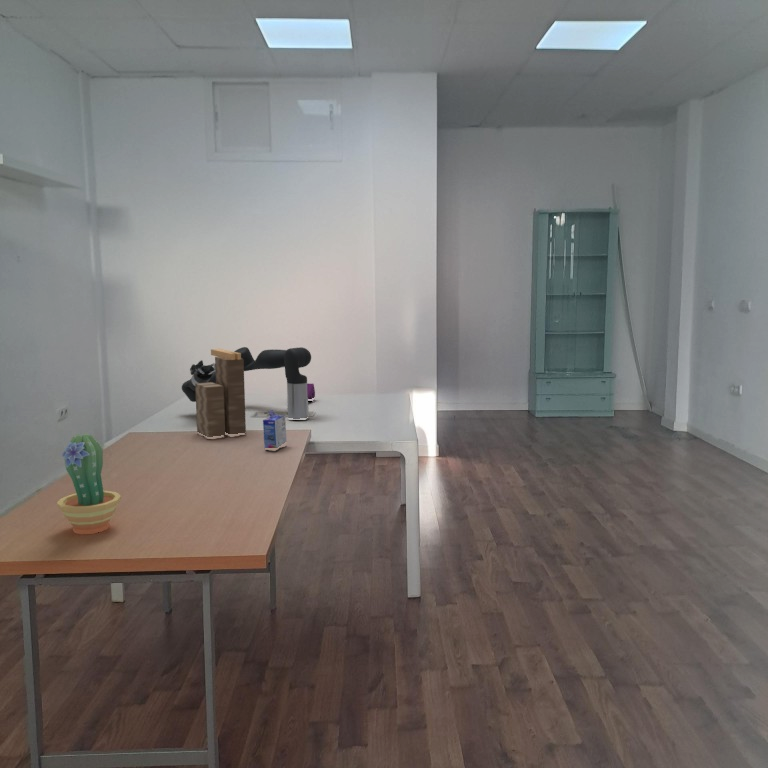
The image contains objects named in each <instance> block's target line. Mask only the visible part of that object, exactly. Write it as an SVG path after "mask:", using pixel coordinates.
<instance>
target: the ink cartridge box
mask: <svg viewBox="0 0 768 768" xmlns="http://www.w3.org/2000/svg"><path fill="white" fill-rule="evenodd" d="M268 414H269V416H268V417H267V418H265V419H263V420H262V425H263V429H262V430H263V442H264V444H263V445H264V449H265V448H278V447H279V446H281V445H282V444H284V443H285V442H287V427H286V426H287V424H286V415H282V414H281V415H280V414H276V413H275V412H274V410H271V411H268Z"/></svg>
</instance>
